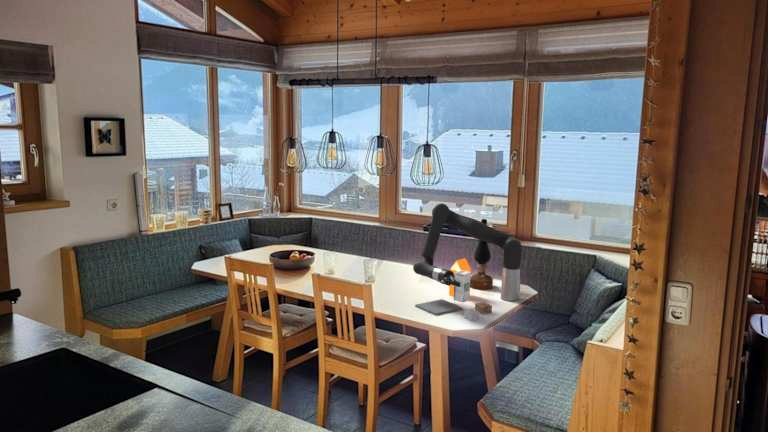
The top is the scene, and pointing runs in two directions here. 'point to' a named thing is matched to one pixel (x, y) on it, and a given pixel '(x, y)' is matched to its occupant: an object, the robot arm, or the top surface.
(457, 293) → the syrup box
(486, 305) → the walnut block
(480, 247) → the oil lamp
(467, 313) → the grey plastic block
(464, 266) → the orange juice
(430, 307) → the charcoal mat
